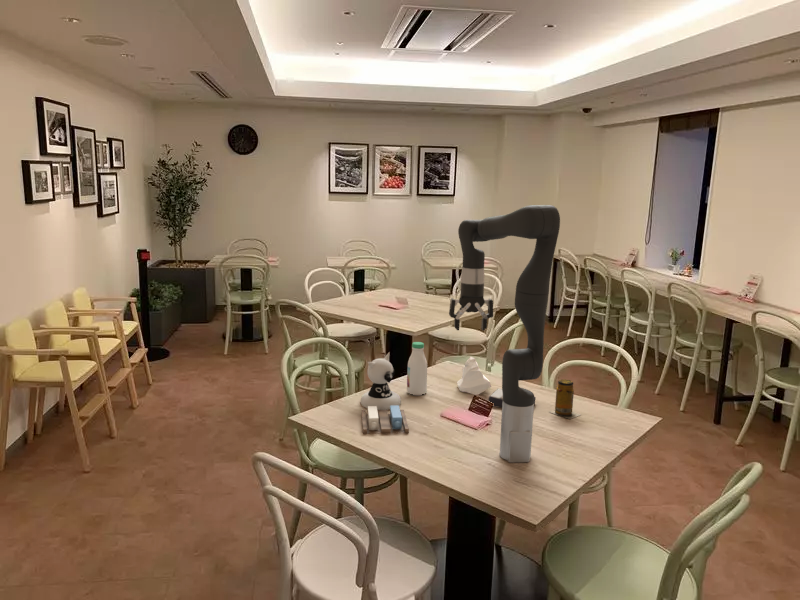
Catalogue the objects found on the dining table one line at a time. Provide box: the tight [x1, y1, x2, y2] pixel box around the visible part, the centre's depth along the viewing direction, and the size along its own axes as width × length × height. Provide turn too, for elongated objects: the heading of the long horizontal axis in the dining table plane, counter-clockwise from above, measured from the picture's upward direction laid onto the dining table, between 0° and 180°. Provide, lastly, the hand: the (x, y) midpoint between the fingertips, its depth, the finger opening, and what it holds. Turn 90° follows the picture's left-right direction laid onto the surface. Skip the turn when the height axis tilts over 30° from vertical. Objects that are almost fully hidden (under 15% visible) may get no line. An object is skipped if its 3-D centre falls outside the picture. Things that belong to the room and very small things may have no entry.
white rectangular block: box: [367, 406, 379, 430], centre depth 205 cm, size 15×3×4 cm, turn 5°
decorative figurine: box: [360, 351, 402, 411], centre depth 223 cm, size 15×15×20 cm
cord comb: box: [361, 409, 410, 435], centre depth 206 cm, size 17×15×3 cm
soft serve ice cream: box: [456, 356, 492, 396], centre depth 246 cm, size 12×15×14 cm
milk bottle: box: [406, 341, 428, 396], centre depth 239 cm, size 8×8×20 cm
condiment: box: [550, 379, 581, 419], centre depth 222 cm, size 7×8×12 cm
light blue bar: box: [389, 405, 402, 429], centre depth 206 cm, size 15×3×4 cm, turn 5°
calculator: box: [488, 388, 537, 408], centre depth 231 cm, size 11×4×15 cm
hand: (470, 329), depth 204 cm, fingers open, 8 cm apart
